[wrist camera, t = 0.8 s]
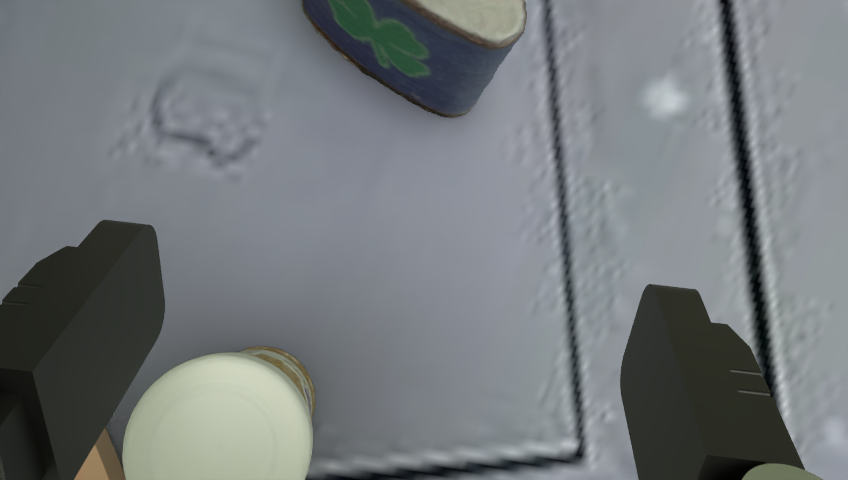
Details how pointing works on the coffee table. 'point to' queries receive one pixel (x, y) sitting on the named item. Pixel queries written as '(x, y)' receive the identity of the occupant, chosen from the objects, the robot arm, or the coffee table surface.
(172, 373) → the sprinkles bottle
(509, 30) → the flask
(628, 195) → the coffee table surface
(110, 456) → the square tray
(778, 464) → the robot arm
